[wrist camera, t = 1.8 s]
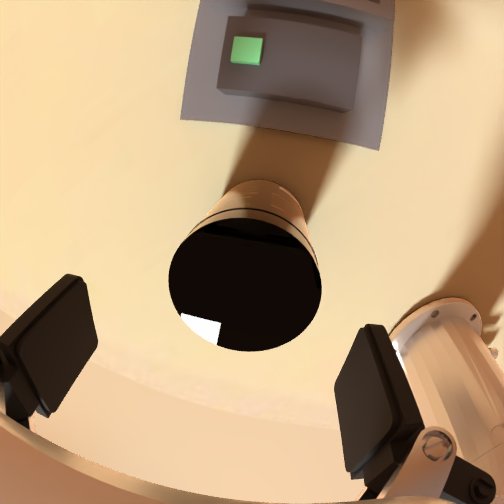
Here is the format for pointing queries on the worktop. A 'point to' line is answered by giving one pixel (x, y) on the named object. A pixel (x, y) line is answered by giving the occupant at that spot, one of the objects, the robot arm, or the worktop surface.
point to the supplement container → (248, 270)
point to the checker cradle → (293, 66)
